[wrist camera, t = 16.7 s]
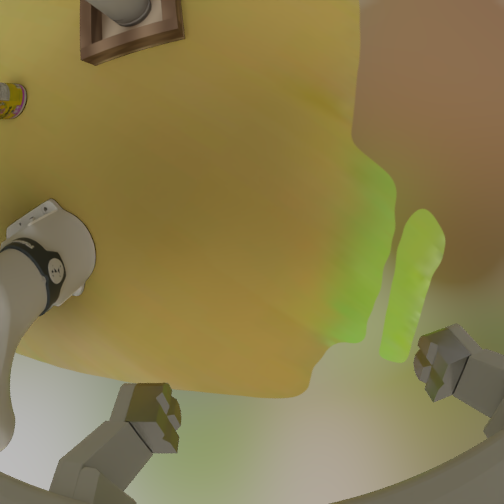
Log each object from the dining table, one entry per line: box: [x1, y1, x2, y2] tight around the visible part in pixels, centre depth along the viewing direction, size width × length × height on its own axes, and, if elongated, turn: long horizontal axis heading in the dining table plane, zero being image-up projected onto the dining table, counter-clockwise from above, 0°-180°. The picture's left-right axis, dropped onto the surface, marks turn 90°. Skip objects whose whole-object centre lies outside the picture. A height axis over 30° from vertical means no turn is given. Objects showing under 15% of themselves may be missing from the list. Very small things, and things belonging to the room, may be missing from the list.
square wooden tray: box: [80, 0, 185, 65], centre depth 30 cm, size 15×15×5 cm
